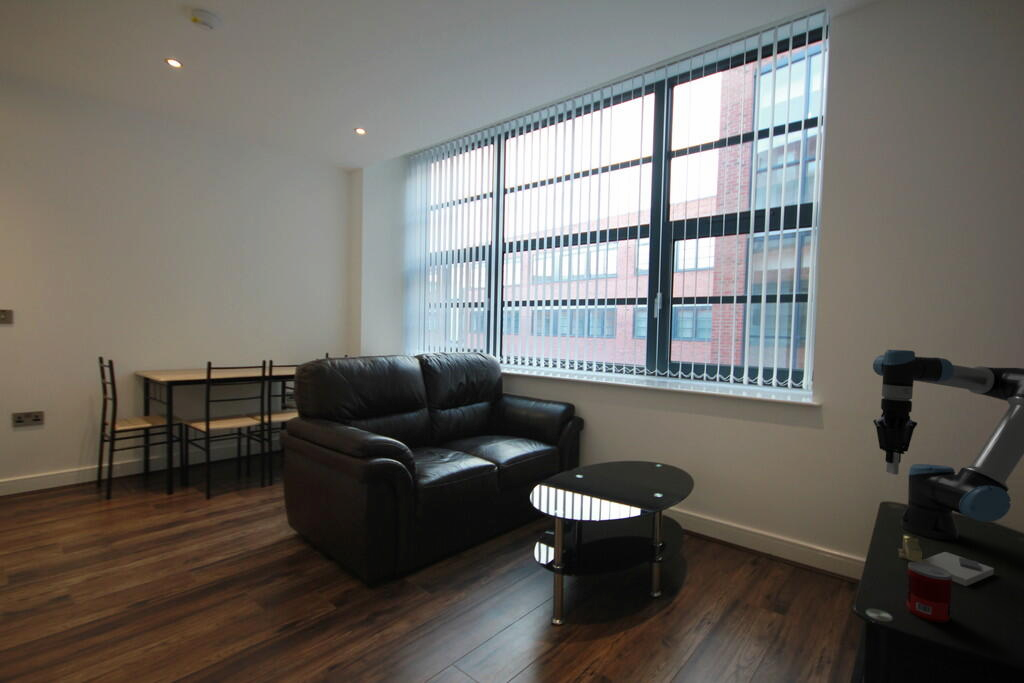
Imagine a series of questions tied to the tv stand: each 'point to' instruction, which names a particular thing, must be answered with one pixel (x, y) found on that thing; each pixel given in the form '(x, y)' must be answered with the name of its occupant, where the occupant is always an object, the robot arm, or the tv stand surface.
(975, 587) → the tv stand surface
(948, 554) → the white flat block
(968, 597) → the tv stand surface
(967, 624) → the tv stand surface
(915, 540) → the latch bar
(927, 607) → the canned food
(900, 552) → the jamb plate
